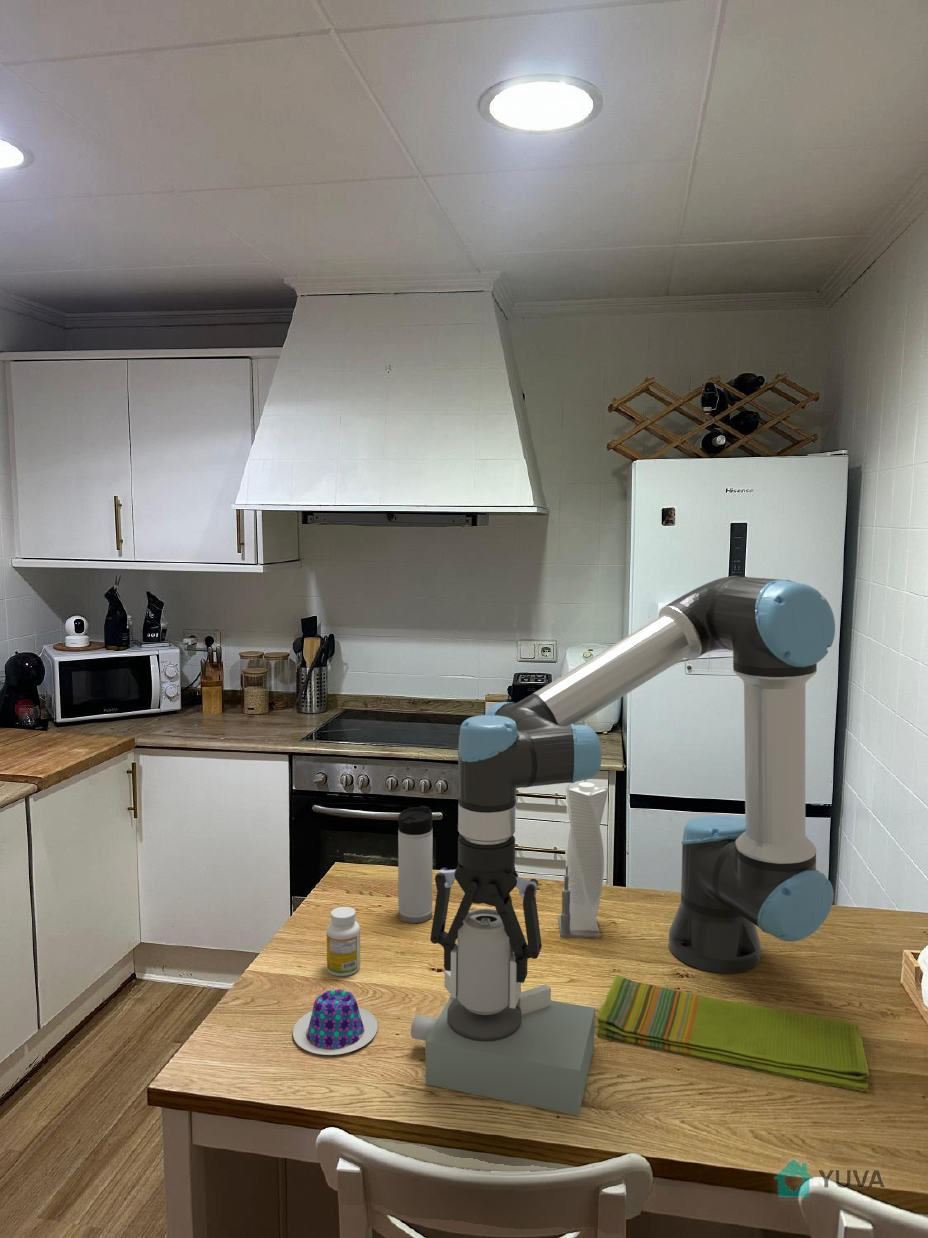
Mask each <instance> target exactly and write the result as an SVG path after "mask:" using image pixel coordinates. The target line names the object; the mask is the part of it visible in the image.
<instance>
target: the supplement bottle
mask: <svg viewBox="0 0 928 1238" xmlns="http://www.w3.org/2000/svg"><path fill="white" fill-rule="evenodd" d="M356 915H357V913H356V909H354V908H353V907H351V906H339V907H336V908H334V909H332V910H331V912H330V923H329V924H328V925H327V927H326V968H327V971H328V972H329V973H330V974H331V975H333V976H335V977H347V976H352V975H354V974H355V973H358V971H359V970H360V969H361V927H360V924H359V922H357V921H356V920H357V919H356V918H357V916H356Z"/></svg>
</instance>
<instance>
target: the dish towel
mask: <svg viewBox="0 0 928 1238" xmlns="http://www.w3.org/2000/svg"><path fill="white" fill-rule="evenodd" d="M597 1023H598V1024H599V1025H598V1027H597V1031H596V1035H597V1037H598V1038H602V1039H607V1040H612V1041H614V1042H618V1043H623V1044H628V1045H632V1046H636V1047H640V1048H641V1047H642V1048H645V1049H646V1048H647V1049H652V1050H657V1051H661V1052H666V1053H669V1054H670V1053H671V1054H675V1055H679V1056H680V1055H681V1056H683V1057H684V1056H685V1057H689V1058H692V1059H693V1058H694V1059H698V1060H703V1061H707V1062H713V1063H717V1064H722V1065H725V1066H726V1065H727V1066H731V1067H736V1068H739V1069H747V1070H753V1071H754V1072H755V1071H756V1072H760V1073H766V1074H770V1075H773V1076H774V1075H775V1076H779V1075H780V1076H779V1077H784V1076H785V1077H784V1078H788V1077H789V1079H793V1078H794V1080H798V1079H802V1080H803V1081H802V1080H801V1081H802V1082H807V1081H809V1082H808V1083H814V1084H818V1083H822V1084H821V1085H823V1084H826V1085H825V1086H828V1085H830V1087H834V1086H836V1087H835V1088H840V1087H843V1088H842V1089H846V1088H848V1089H847V1090H851V1089H854V1090H853V1091H856V1090H860V1091H859V1092H862V1091H868V1092H869V1083H868V1081H869V1080H870V1070H869V1067H868V1061H867V1058H866V1052H865V1049H864V1048H865V1047H864V1043H863V1038H862V1033H861V1029H860V1026H859V1024H855V1023H851V1022H849V1021H844V1020H838V1019H833V1018H828V1017H824V1016H823V1017H822V1016H820V1015H815V1014H814V1015H813V1014H809V1013H808V1014H807V1013H803V1012H798V1011H791V1010H786V1009H785V1010H784V1009H781V1008H776V1007H775V1008H774V1007H768V1006H767V1007H765V1006H759V1005H754V1004H750V1003H743V1002H739V1001H732V1000H726V999H720V998H715V997H711V996H705V995H700V994H695V993H690V992H687V991H683V990H676V989H672V988H667V987H663V986H662V987H661V986H659V985H653V984H650V983H649V984H648V983H643V982H638V981H635V980H631V979H629V978H626V977H624V976H621V975H618V974H617V975H615V976H614V979H613V981H612V983H611V986H610V988H609V990H608V992H607V995H606V997H605V999H604V1002H603V1004H601V1007H600V1008H599V1011H598V1015H597Z"/></svg>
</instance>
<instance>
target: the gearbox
mask: <svg viewBox="0 0 928 1238" xmlns="http://www.w3.org/2000/svg"><path fill="white" fill-rule="evenodd" d="M444 989H445V990H446V991H448V993H449V994H450V996H449V998H448V999H447V1001H446V1004H445V1005H444V1007H443V1009H442V1010H441V1012H440V1013H439V1016H438V1017H437V1018H436V1017H433V1016H432V1017H431V1016H425V1015H420V1014H415V1015H414V1017H413V1019H412V1021H411V1022H412V1023H411V1025H410V1026H411V1027H410V1036H411V1039H414V1040H419V1041H423V1042H425V1044H424V1045H425V1048H424V1049H425V1055H424V1056H425V1057H424V1058H425V1059H424V1060H425V1065H424V1067H425V1072H424V1073H425V1075H424V1076H425V1077H424V1079H425V1080H424V1081H425V1082H424V1083H425V1085H427V1086H432V1087H438V1088H442V1089H447V1090H452V1091H455V1092H462V1093H466V1094H472V1095H477V1096H480V1097H485V1098H491V1099H496V1100H499V1101H506V1102H511V1103H515V1104H519V1105H525V1106H530V1107H534V1108H538V1109H544V1110H550V1111H553V1112H554V1111H555V1112H559V1113H564V1114H567V1115H573V1116H577V1117H579V1116H580V1111H581V1107H582V1101H583V1098H584V1095H585V1094H584V1093H585V1090H586V1085H587V1082H588V1081H587V1080H588V1076H589V1071H590V1068H591V1063H592V1059H593V1054H594V1049H595V1028H596V1027H595V1026H596V1025H595V1023H596V1008H595V1007H592V1006H587V1005H586V1006H585V1005H581V1004H576V1003H575V1004H574V1003H569V1002H562V1001H556V1000H552V997H551V996H552V995H551V994H552V988H551V987H549V986H548V985H547V984H543V985H539V986H537V987H536V986H535V987H533V988H529V989H526V990H524V991H521V990H522V983H520V998H519V1000H518V1003H517V1005H516V1007H515V1009H514V1008H509V1005H510V1004H509V1005H508V1006H507V1007H506V1008H504V1009H503V1010H502V1011H500V1012H498V1013H495V1014H491V1015H481V1014H476V1013H473V1012H471V1011H469V1010H468V1009H466V1008H465V1006H463V1005H462V1004H461V1003H460V1002H459V1000H458V996H457V997H456V998H451V971H446V970H444Z"/></svg>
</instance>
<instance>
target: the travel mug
mask: <svg viewBox="0 0 928 1238" xmlns="http://www.w3.org/2000/svg"><path fill="white" fill-rule="evenodd" d="M430 808H431V807H429V806H425V805H420V806H419V807H410V808H407V809H403V810H402V811H401V812H400V813H399V814H398V831H397V832H398V833H397V834H398V835H397V836H398V837H397V842H398V845H397V846H398V848H397V851H398V852H397V854H398V855H397V856H398V858H397V859H398V860H397V861H398V862H397V863H398V867H397V869H398V871H397V872H398V873H397V874H398V877H397V879H398V881H397V882H398V884H397V885H398V888H397V889H398V891H397V892H398V895H397V896H398V897H397V899H398V900H397V901H398V902H397V903H398V905H397V906H398V908H397V909H398V915H397V916H398V917H399V919H400V920H401V921H403V922H405V923H409V924H421V923H424V922H427V921H429V920H430V919H431V918H432V917H433V844H434V843H433V841H434V840H433V835H434V834H433V811H432V810H431V809H430Z"/></svg>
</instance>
